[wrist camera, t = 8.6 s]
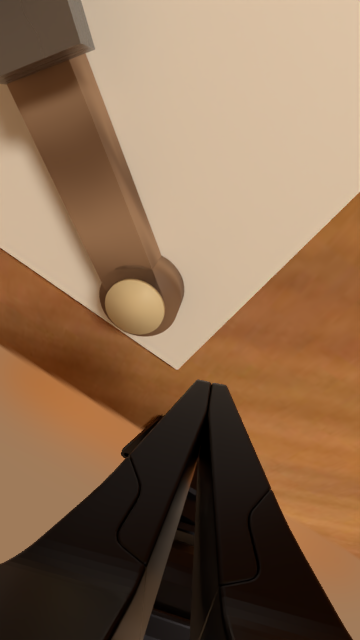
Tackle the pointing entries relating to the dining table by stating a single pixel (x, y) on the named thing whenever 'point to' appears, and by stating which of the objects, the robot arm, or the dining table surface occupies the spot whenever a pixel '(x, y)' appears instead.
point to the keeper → (40, 35)
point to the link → (95, 180)
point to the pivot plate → (202, 152)
